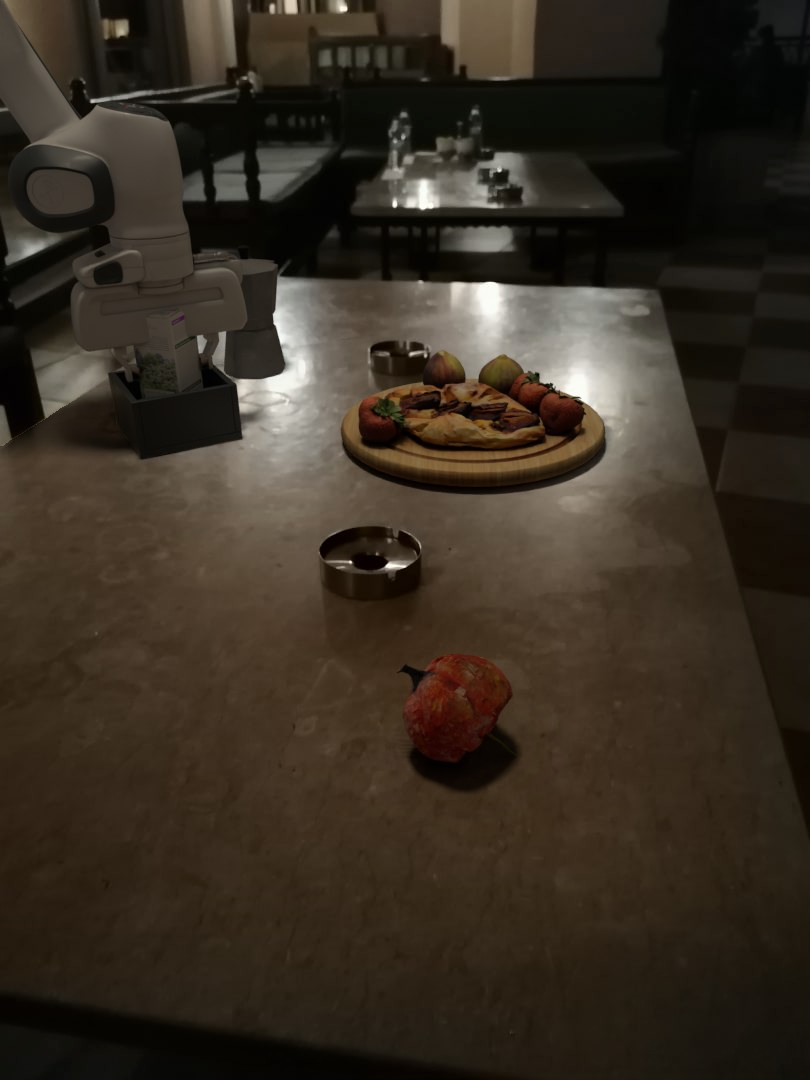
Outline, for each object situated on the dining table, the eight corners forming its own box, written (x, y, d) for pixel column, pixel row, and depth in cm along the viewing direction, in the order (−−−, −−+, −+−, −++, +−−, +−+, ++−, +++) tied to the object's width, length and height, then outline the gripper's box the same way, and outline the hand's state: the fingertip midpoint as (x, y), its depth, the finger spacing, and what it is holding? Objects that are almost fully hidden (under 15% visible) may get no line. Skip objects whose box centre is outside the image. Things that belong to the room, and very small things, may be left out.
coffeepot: (254, 353, 143) (243, 234, 134) (305, 361, 139) (297, 239, 130) (192, 383, 131) (175, 254, 122) (246, 392, 127) (233, 260, 118)
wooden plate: (369, 509, 95) (366, 435, 91) (323, 405, 122) (319, 345, 118) (651, 475, 101) (660, 404, 97) (547, 383, 128) (550, 325, 124)
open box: (140, 459, 107) (131, 403, 103) (117, 425, 117) (107, 372, 113) (242, 438, 112) (236, 384, 109) (211, 407, 122) (205, 356, 118)
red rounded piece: (505, 739, 66) (403, 649, 66) (567, 699, 61) (457, 601, 61) (465, 815, 61) (354, 718, 61) (529, 778, 56) (408, 671, 56)
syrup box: (209, 417, 115) (195, 303, 108) (184, 433, 110) (168, 315, 103) (170, 412, 117) (154, 299, 110) (144, 428, 112) (125, 311, 105)
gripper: (231, 244, 111) (242, 354, 117) (57, 263, 102) (80, 380, 109) (248, 253, 106) (259, 368, 112) (67, 274, 97) (90, 396, 104)
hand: (169, 374), depth 111 cm, fingers closed on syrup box, 7 cm apart
